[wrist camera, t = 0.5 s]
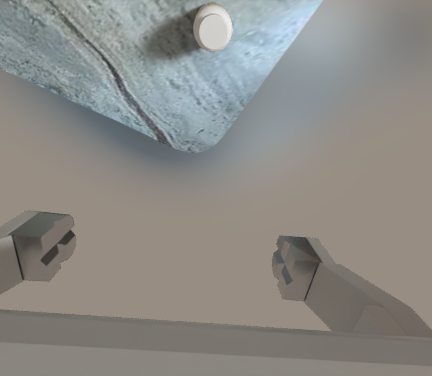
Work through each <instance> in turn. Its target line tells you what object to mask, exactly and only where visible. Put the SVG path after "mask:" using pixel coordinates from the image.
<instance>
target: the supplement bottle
mask: <svg viewBox="0 0 432 376" xmlns="http://www.w3.org/2000/svg"><path fill="white" fill-rule="evenodd" d="M193 31H194V36H195V39H196V41H197V43H198V44H199V45H200V47H202V48H203V49H204V50H206V51H209V52H217V51H220V50H222V49H223V48H224V47H225V46H226V45H227V44H228V43H229V41H230V38H231V35H232V22H231V19H230V16H229V15H228V13H227V12H226V11H225V10H224V9H223V7H221V6H220V5H219V4H216V3H207V4H204V5H203V6H202V7H201V8H200V9H199V10H198V12H197V14H196V17H195V20H194V25H193Z"/></svg>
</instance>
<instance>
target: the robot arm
mask: <svg viewBox="0 0 432 376" xmlns="http://www.w3.org/2000/svg"><path fill="white" fill-rule="evenodd" d="M73 226H74V221H73V217H72V216H71V215H67V214H58V213H50V212H41V211H24V212H22V213H21V214H19V215H18V216H16V217H15V218H13V219H12V220H10V221H9V222H7V223H5V224H4V225H2V226H1V227H0V294H2V293H4V292H5V291H7V290H9V289H11V288H12V287H14V286H16V285H17V284H19V283H21V282H23V280H29V281H50V280H51V279H52V278H53V277H54V275H55V274H56V273H57V272H58V271H59V269H60V268H61V266H60V263H61V262H64V261H66V260H68V259H69V258H70V256H71V255H72V254H73V251H74V249H75V246H76V236H75V234H74V233H73V232H72V230H71V229H72V227H73ZM276 244H277V247H278V250H277V251H276V252H274V255H273V259H272V268H273V274H274V276H275V277H276V278H277V279H278V280H279V282H278V288H279V291H280V293H281V296H282V299H286V300H296V301H305V304H306V305H307V306H308V307H309V308H310V309H311V310H312V311H313V312H314V313H315V314H316V315H317V316H318V317H319V318H320V319H321V320H322V321H323V322H324V323H325V324H326V325H327V326H328V327H329V328H330V329H331V331H319V330H302V329H287V328H273V327H258V326H243V325H229V324H214V323H197V322H184V321H168V320H153V319H152V320H151V319H137V318H122V317H106V316H91V315H75V314H60V313H45V312H29V311H14V310H0V376H432V330H431V329H430V328H429V326H428V325H427V324H426V323H425V322H424V321H423V320H422V319H421V318H420V317H419V316H418V315H417V314H416V313H415V311H414V310H413V309H412V308H411V307H409V306H408V305H406V304H405V303H403V302H401V301H400V300H398V299H396V298H395V297H393V296H391V295H390V294H388V293H386V292H385V291H383V290H382V289H380V288H378V287H377V286H375V285H373V284H372V283H370V282H369V281H367V280H365V279H364V278H362V277H360V276H359V275H357V274H356V273H354V272H352V271H351V270H349V269H347V268H346V267H344V266H342V265H340V264H336V262H335V261H334V259H333V258H332V257H331V256H330V254H329V253H328V251H327V250H326V249H325V247H324V246H323V245H322V243H321V242H320V241H319V239H317V238H310V237H293V236H279V238H278V240H277V243H276Z"/></svg>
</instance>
